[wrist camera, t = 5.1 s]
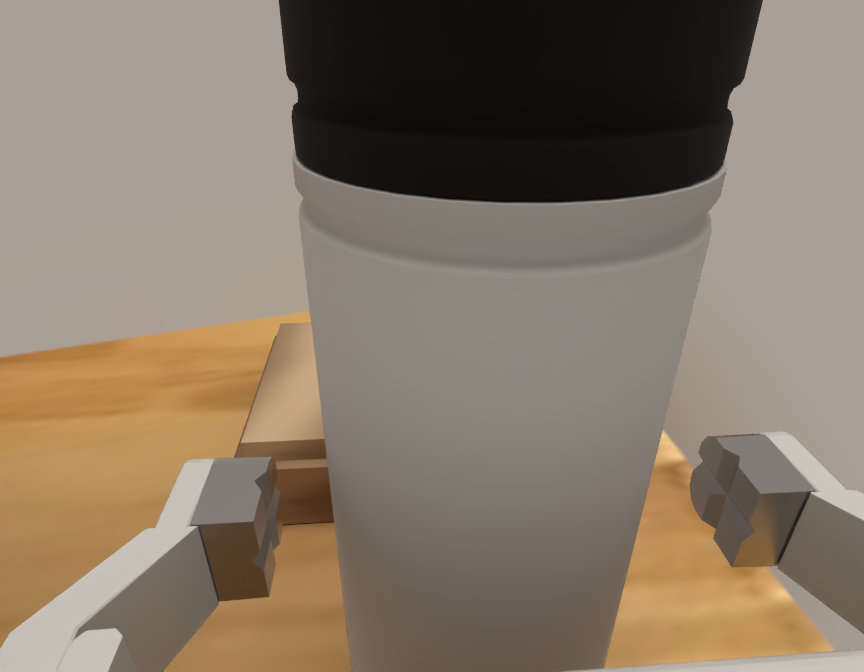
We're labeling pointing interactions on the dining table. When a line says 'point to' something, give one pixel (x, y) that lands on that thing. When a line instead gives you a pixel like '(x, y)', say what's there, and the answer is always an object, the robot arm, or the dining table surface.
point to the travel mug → (501, 301)
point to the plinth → (291, 426)
